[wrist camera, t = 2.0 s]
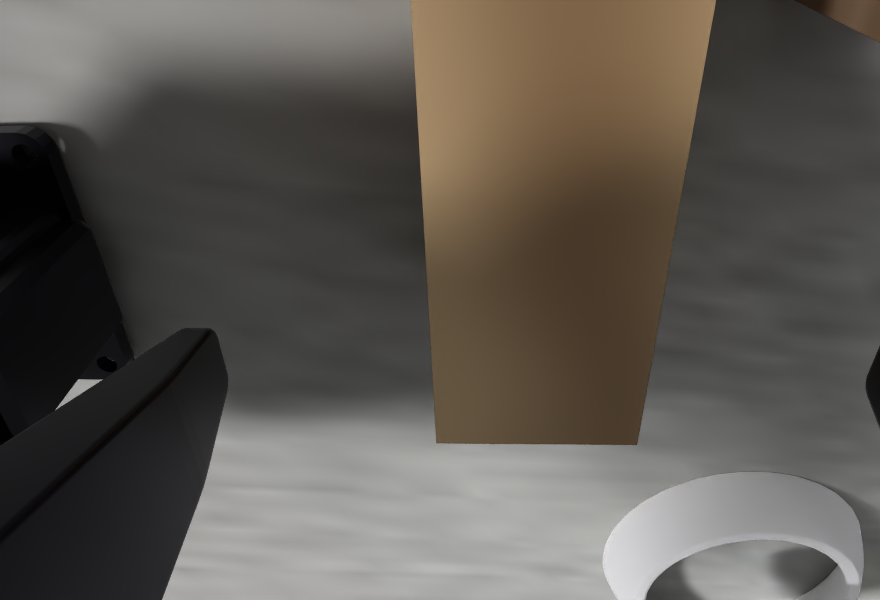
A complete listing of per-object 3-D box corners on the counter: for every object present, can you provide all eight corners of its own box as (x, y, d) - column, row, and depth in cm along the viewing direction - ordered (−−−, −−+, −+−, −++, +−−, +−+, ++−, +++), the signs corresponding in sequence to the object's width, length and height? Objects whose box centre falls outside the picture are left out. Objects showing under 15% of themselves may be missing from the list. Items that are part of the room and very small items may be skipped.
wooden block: (447, 288, 16) (436, 443, 12) (426, -250, 10) (393, -312, 6) (595, 288, 16) (636, 444, 12) (655, -262, 10) (775, -335, 6)
